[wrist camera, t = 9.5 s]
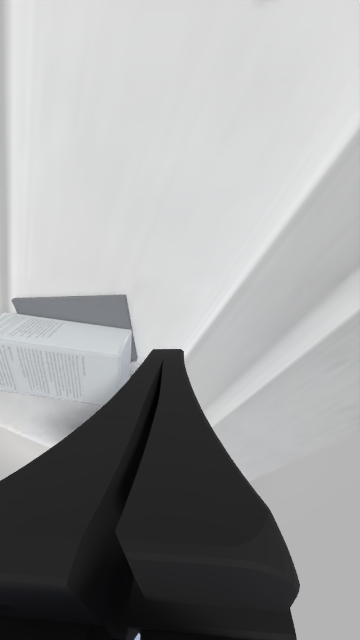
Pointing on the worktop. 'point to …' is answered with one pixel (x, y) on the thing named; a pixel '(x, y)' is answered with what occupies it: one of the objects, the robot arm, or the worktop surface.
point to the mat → (81, 311)
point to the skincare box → (63, 358)
